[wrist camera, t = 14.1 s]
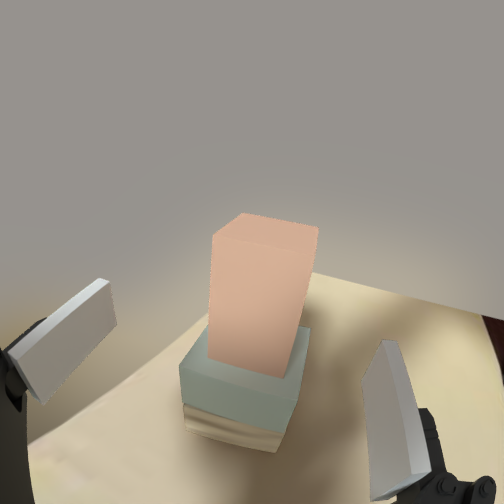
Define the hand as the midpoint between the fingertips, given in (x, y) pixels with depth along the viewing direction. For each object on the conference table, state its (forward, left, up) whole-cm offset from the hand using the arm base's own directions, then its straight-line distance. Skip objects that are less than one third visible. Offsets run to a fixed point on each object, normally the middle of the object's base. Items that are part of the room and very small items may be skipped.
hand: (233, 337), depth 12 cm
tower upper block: (+6, -5, -12) cm, 15 cm away
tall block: (+6, -6, -7) cm, 11 cm away
